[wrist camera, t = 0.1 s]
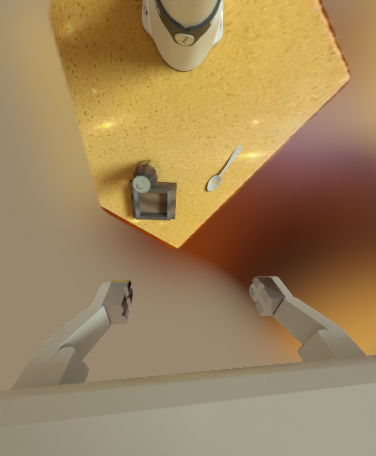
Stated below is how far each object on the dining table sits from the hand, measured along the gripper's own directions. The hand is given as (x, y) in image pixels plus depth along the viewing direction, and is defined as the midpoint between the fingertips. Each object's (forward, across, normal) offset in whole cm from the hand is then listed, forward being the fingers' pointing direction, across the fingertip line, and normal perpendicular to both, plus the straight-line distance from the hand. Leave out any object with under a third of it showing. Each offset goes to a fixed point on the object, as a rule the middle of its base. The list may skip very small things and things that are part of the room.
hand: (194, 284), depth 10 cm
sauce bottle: (+48, +9, +1) cm, 49 cm away
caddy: (+48, +8, +12) cm, 50 cm away
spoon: (+48, -17, -1) cm, 51 cm away
